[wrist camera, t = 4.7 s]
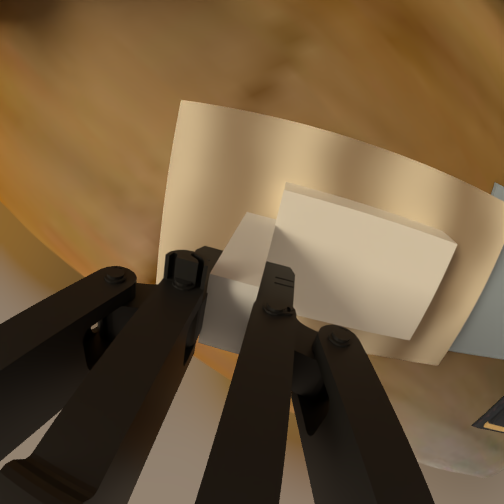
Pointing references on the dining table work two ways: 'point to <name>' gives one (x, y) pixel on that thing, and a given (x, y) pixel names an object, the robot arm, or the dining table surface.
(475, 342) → the mat
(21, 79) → the dining table surface
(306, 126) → the riser
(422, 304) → the cream rectangular block
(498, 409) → the dark grey flat slab
